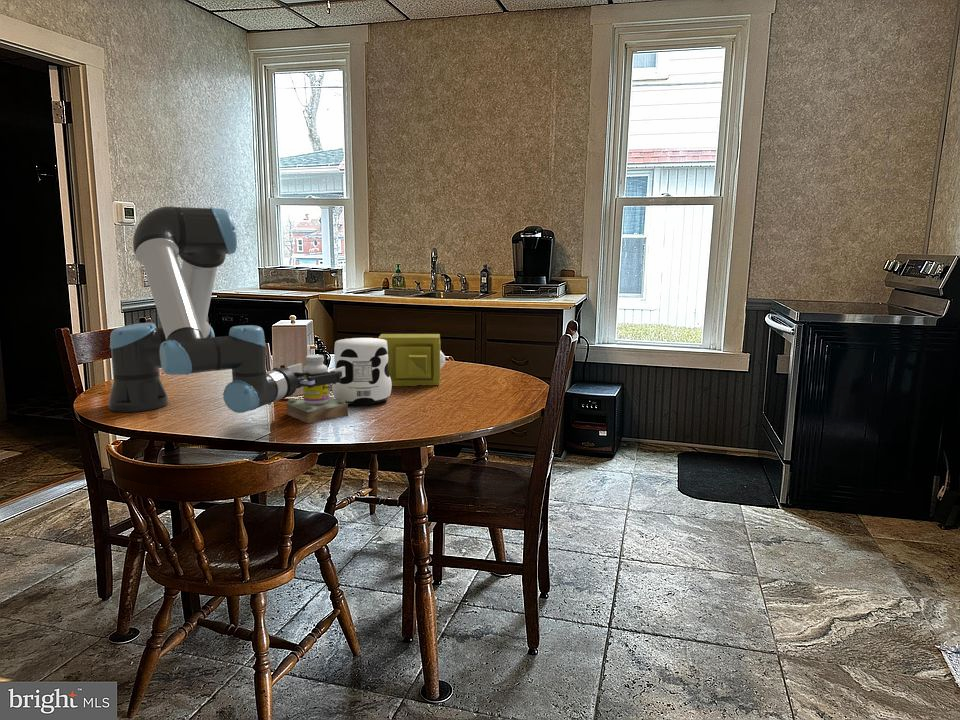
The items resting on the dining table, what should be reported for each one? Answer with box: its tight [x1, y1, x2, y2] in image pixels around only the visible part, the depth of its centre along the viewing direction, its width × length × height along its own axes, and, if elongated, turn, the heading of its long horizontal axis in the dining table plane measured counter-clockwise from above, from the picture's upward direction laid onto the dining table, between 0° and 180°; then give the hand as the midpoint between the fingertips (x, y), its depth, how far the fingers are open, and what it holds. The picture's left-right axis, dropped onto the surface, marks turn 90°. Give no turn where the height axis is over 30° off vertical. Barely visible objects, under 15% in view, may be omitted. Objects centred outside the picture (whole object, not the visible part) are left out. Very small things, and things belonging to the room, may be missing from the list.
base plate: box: [286, 396, 349, 424], centre depth 185 cm, size 12×12×4 cm
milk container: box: [331, 337, 393, 405], centre depth 200 cm, size 17×17×18 cm
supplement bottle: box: [302, 354, 330, 405], centre depth 184 cm, size 7×7×13 cm
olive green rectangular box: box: [378, 333, 446, 387], centre depth 223 cm, size 35×16×16 cm
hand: (322, 369), depth 187 cm, fingers open, 13 cm apart
